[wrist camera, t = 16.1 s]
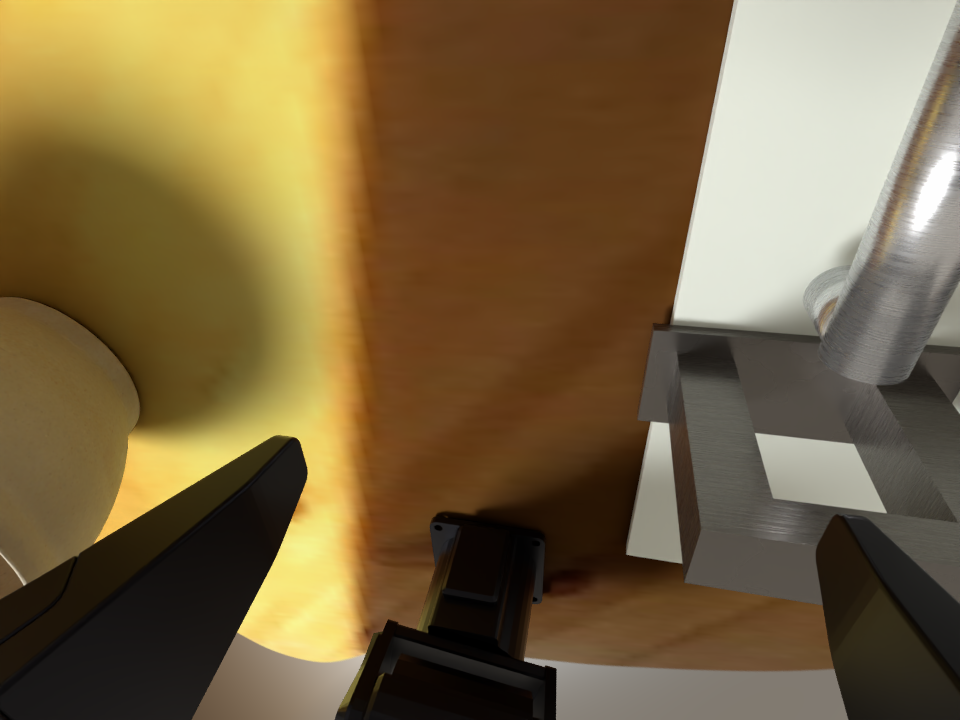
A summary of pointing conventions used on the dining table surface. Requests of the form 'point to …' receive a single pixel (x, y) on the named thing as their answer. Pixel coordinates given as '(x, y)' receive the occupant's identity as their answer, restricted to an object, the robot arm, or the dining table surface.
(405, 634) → the robot arm
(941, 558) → the iron eye
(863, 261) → the wooden mallet
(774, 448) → the white board
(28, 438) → the planter bowl
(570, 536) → the dining table surface
